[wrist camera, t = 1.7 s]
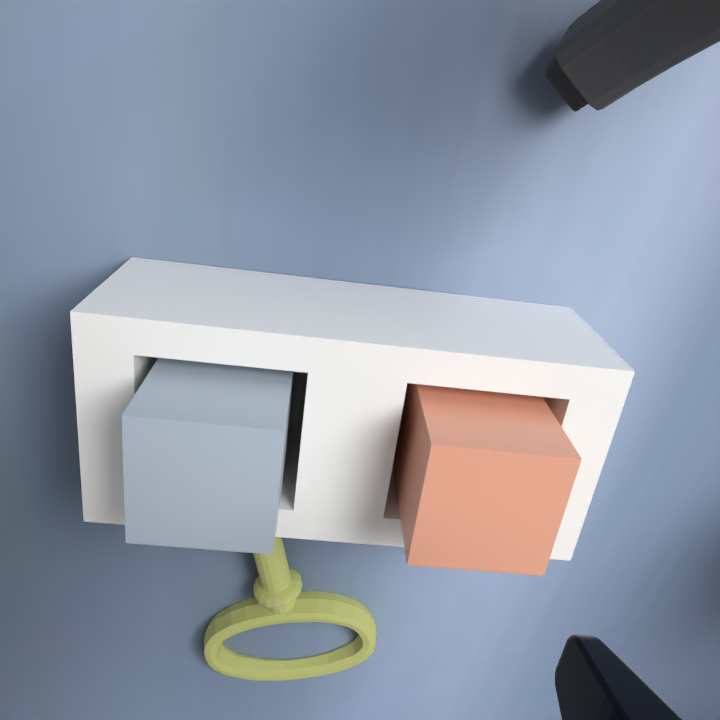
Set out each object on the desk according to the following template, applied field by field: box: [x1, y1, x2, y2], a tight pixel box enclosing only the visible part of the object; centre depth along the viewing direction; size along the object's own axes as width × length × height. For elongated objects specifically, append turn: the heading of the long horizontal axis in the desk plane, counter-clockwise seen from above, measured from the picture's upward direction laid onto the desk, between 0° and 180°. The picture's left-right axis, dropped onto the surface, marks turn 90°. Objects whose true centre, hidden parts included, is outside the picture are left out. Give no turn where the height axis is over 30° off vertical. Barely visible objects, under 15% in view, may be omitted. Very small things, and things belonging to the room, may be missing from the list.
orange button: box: [393, 383, 582, 576], centre depth 17 cm, size 4×4×5 cm
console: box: [70, 257, 635, 561], centre depth 19 cm, size 6×14×5 cm, turn 83°
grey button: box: [122, 358, 294, 555], centre depth 17 cm, size 4×4×5 cm
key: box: [204, 537, 377, 681], centre depth 25 cm, size 7×12×2 cm, turn 24°
